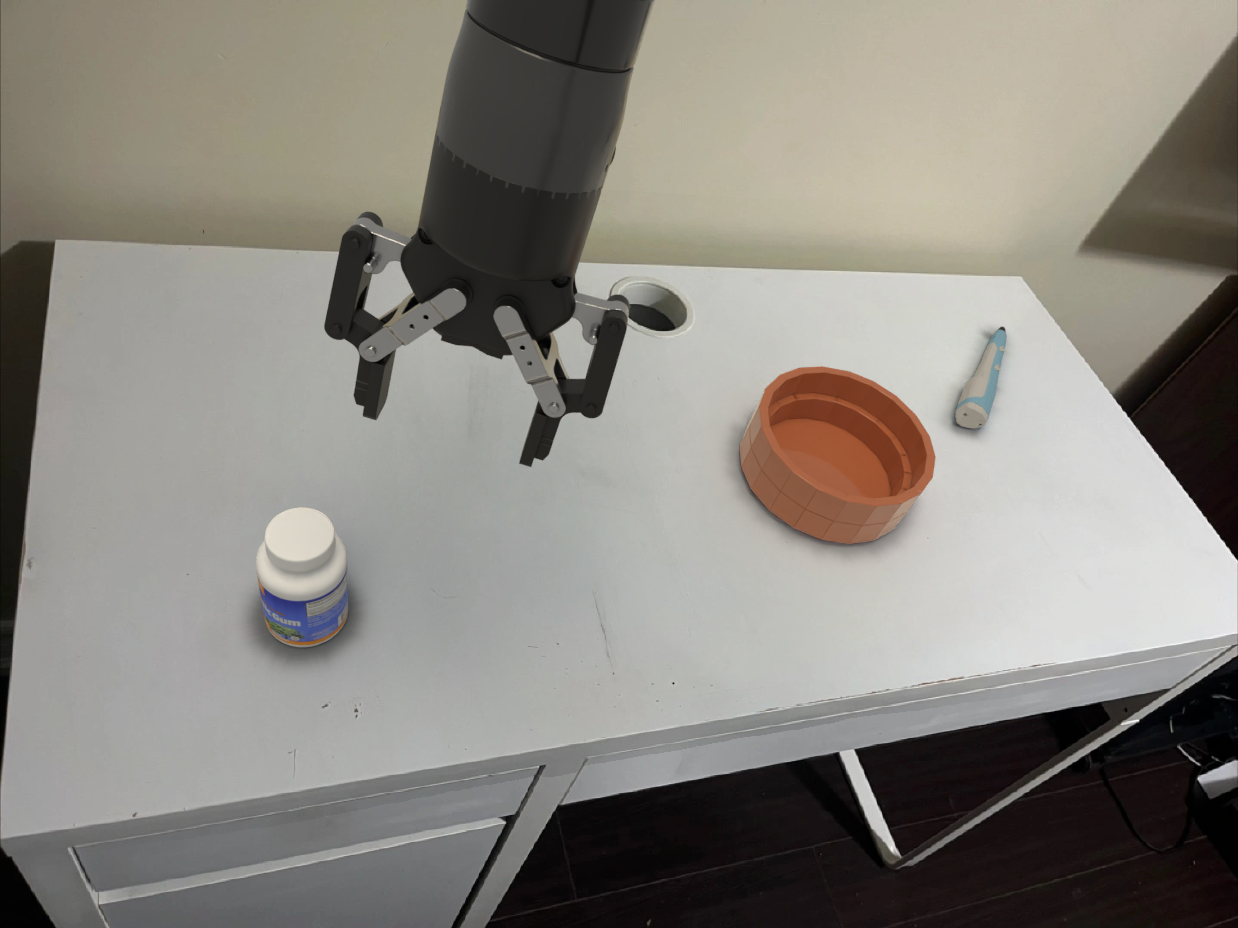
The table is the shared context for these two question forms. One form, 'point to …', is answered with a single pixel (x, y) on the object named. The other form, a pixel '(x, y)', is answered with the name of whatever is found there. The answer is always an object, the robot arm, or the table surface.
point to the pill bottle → (302, 578)
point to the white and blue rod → (982, 385)
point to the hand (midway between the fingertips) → (452, 434)
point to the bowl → (835, 454)
